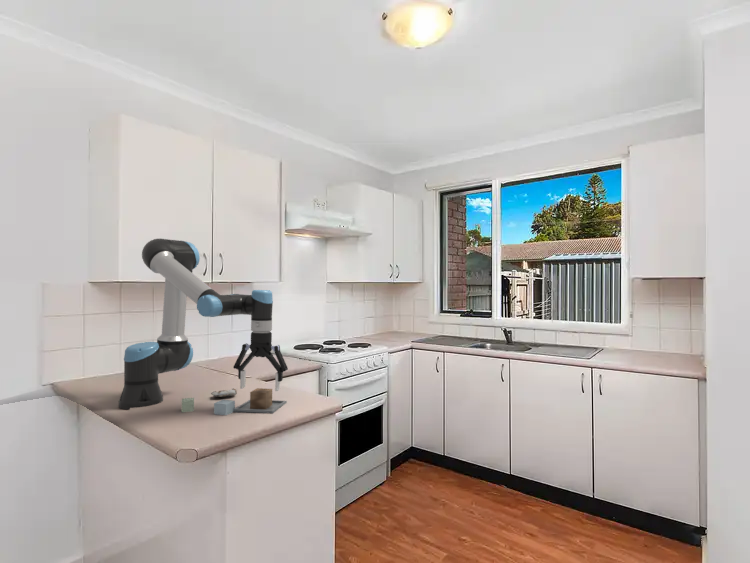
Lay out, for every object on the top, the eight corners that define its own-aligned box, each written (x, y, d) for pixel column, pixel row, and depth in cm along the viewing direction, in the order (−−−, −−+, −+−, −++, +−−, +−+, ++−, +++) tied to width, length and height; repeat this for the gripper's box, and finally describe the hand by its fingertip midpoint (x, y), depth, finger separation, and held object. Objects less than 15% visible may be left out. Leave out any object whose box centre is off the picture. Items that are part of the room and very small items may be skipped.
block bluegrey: (214, 414, 154) (214, 403, 154) (223, 410, 159) (223, 399, 159) (226, 415, 153) (226, 404, 153) (234, 411, 158) (234, 400, 158)
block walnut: (250, 408, 159) (250, 392, 159) (257, 404, 165) (257, 388, 165) (265, 409, 158) (265, 392, 158) (272, 404, 164) (272, 388, 164)
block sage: (181, 412, 156) (181, 401, 156) (182, 409, 160) (182, 398, 160) (193, 411, 158) (193, 400, 158) (194, 408, 162) (194, 397, 162)
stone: (212, 399, 172) (212, 392, 172) (210, 396, 178) (210, 390, 179) (237, 396, 176) (237, 389, 176) (235, 393, 182) (235, 387, 183)
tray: (233, 412, 156) (233, 408, 156) (250, 402, 170) (250, 399, 170) (272, 414, 154) (272, 410, 154) (286, 404, 167) (286, 400, 167)
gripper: (224, 331, 160) (223, 389, 160) (290, 334, 156) (288, 393, 156) (234, 329, 168) (233, 384, 168) (297, 331, 164) (295, 388, 164)
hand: (260, 389), depth 162 cm, fingers open, 13 cm apart
